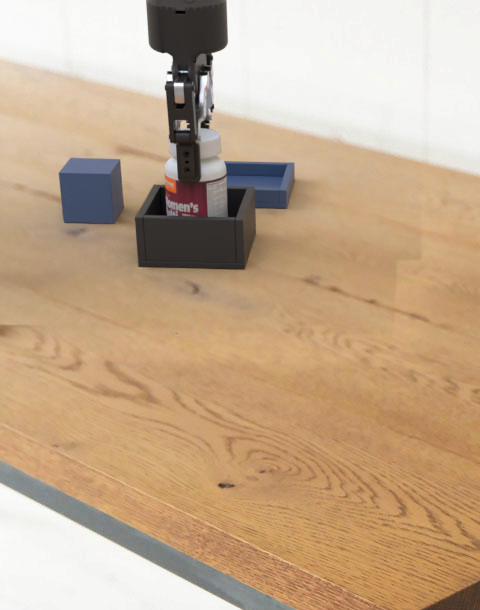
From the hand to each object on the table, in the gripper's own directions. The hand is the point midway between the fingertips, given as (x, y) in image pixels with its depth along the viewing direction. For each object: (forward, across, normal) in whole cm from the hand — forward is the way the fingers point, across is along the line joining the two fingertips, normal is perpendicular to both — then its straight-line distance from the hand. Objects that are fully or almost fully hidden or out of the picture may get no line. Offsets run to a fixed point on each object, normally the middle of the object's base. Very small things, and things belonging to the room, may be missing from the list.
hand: (194, 170), depth 134 cm
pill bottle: (+8, 0, 0) cm, 8 cm away
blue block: (+8, -10, -13) cm, 18 cm away
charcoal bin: (+8, 0, 0) cm, 8 cm away
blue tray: (+8, -19, +1) cm, 21 cm away
